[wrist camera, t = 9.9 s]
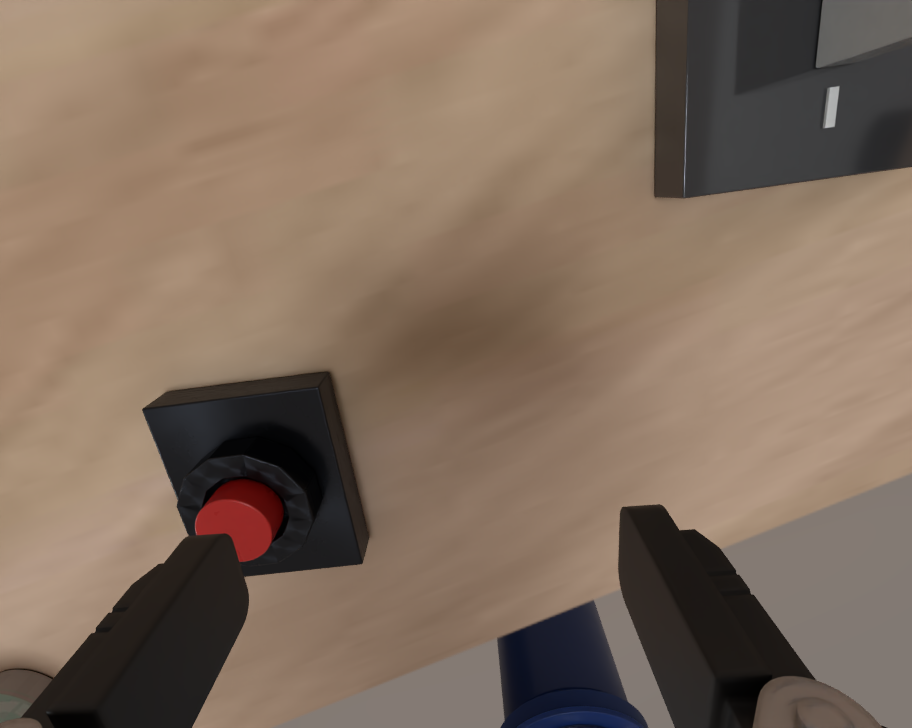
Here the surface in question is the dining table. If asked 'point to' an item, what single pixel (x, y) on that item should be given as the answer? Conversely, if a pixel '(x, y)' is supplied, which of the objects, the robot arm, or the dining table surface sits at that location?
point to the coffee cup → (19, 692)
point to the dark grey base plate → (769, 100)
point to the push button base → (267, 463)
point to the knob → (862, 30)
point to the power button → (243, 516)
